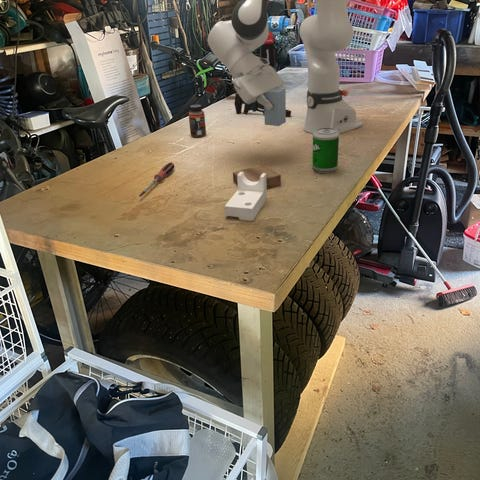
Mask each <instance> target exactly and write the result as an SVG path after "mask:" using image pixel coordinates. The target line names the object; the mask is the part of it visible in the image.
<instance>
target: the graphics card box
mask: <svg viewBox="0 0 480 480" xmlns="http://www.w3.org/2000/svg"><path fill="white" fill-rule="evenodd" d="M274 41H275V39H274V35H273V32H271V31H269V33H268V38H267V40H266V42H265V43H264V44H263V45H262V46H260V47H259V53H260V55H259V57H260V58H266V59H267V60H268V61H269V62H270V64H269V66H271V67H273V68H274V69H275V70H276V57H275V42H274Z"/></svg>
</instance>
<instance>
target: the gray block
mask: <svg viewBox="0 0 480 480" xmlns="http://www.w3.org/2000/svg"><path fill="white" fill-rule="evenodd" d="M286 93H287V92H286V88H280V89H278V88H273V89H271V90H268V91H266V93H265V94H264V96H265V98H266V99H267V100H268V101H269V102H272V103H273V104H274V107H273V108H272V109H271V110H268V109H267V108H266V107H265V106H264V114H263V115H264V126H273V127H280V126H282V125H283V124H285V123H286V121H287V117H286V110H287V109H286V107H287V106H286V104H287V103H286Z"/></svg>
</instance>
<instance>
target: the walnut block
mask: <svg viewBox="0 0 480 480" xmlns="http://www.w3.org/2000/svg"><path fill="white" fill-rule="evenodd" d="M240 172H244V175H245V177H246V178H247V179H248V180H249V181H252V182H257V181H259V180H260V176H261V175H262V173H266V184H267V189H270V188H274V187H277V186H281V185H282V174H280V173H278V172H276V171H274V170H272V169H271V168H269V167H267V166H265V165H263V164H260V165H256V166H253V167H249V168H244V169H241V170H236V171H233V172H232V180H233V183H234V184H235V185H237V186H238V181H237V175H238V174H239V173H240Z"/></svg>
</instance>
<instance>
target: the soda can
mask: <svg viewBox="0 0 480 480" xmlns="http://www.w3.org/2000/svg"><path fill="white" fill-rule="evenodd" d="M339 143H340V134H339V133H338V132H337V131H336V129H334V128H319V129H317V130H316V131H315V132H314V133H312V159H311V161H312V163H311V164H312V165H311V167H312V168H313V169H314V171H315V172H317V173H320V174H330V173H333V172H335V170H336V169H337V168H338V165H339V164H338V163H339V145H340V144H339Z"/></svg>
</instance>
